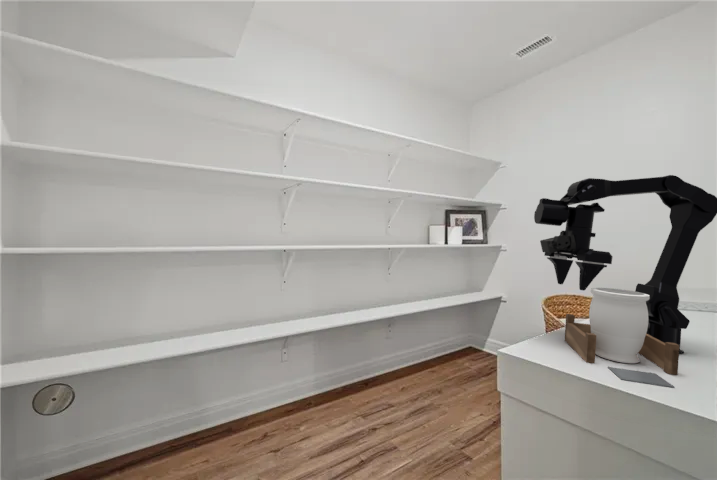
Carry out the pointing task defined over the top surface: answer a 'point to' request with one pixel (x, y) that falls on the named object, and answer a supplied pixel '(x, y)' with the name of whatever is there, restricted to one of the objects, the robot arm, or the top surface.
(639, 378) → the plate
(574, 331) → the low open wooden frame
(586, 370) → the top surface
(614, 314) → the jar
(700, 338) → the top surface
